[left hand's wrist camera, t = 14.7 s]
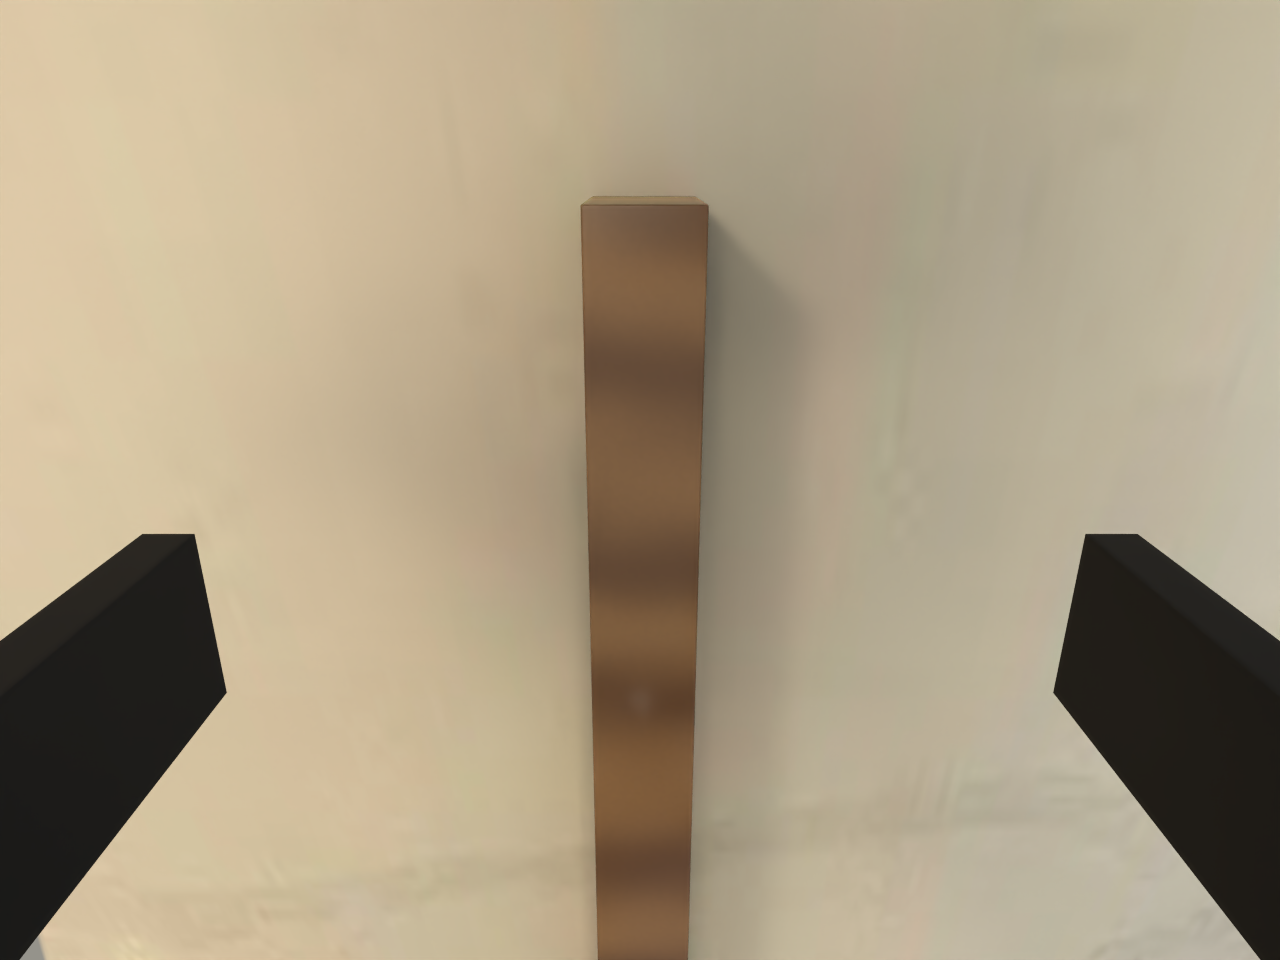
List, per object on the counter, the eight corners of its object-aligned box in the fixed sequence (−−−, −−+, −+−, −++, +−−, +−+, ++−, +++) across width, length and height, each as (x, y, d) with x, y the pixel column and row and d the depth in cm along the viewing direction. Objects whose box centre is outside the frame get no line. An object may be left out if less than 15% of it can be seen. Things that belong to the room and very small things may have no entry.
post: (591, 196, 37) (580, 204, 30) (696, 196, 37) (708, 204, 30) (608, 1123, 58) (604, 1251, 51) (675, 1123, 58) (679, 1251, 51)
